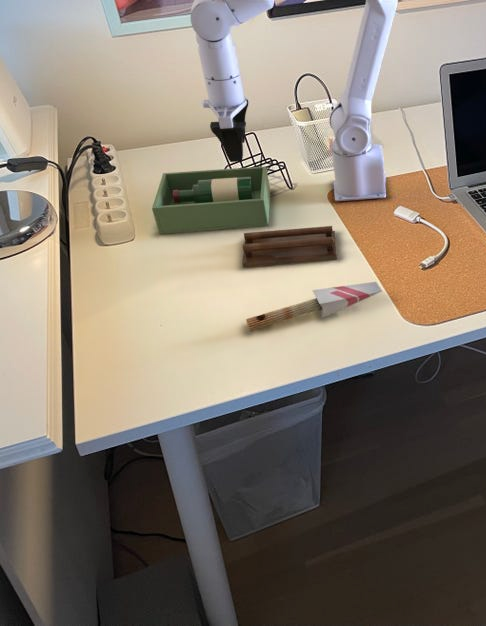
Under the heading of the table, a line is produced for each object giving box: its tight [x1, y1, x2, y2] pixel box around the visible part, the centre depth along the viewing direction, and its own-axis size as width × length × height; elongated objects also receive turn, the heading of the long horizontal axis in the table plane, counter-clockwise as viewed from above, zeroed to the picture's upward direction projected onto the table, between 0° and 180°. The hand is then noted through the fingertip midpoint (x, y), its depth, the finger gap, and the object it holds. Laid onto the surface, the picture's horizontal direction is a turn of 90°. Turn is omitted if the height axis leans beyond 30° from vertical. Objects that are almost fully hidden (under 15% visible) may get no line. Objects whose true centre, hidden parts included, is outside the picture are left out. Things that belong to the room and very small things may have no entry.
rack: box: [242, 225, 338, 268], centre depth 120 cm, size 15×8×3 cm, turn 102°
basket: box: [151, 166, 271, 235], centre depth 129 cm, size 18×13×5 cm
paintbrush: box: [245, 281, 383, 332], centre depth 107 cm, size 4×3×20 cm
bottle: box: [173, 177, 255, 204], centre depth 129 cm, size 14×5×5 cm, turn 101°
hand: (237, 151), depth 127 cm, fingers open, 7 cm apart
